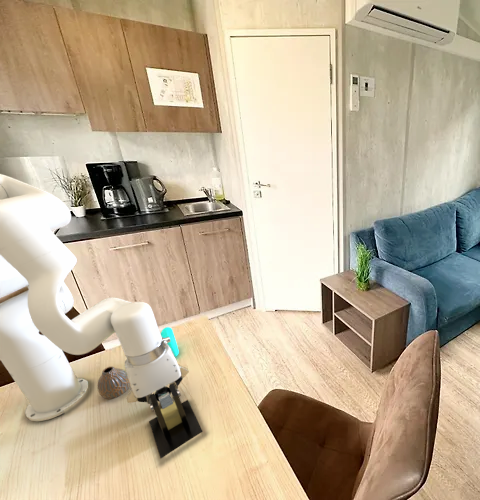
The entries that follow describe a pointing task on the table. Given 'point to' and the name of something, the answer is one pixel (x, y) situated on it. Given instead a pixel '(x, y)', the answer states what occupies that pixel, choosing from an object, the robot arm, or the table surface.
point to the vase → (113, 383)
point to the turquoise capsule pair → (173, 345)
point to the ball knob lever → (164, 397)
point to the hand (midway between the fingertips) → (166, 403)
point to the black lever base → (177, 434)
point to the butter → (171, 416)
